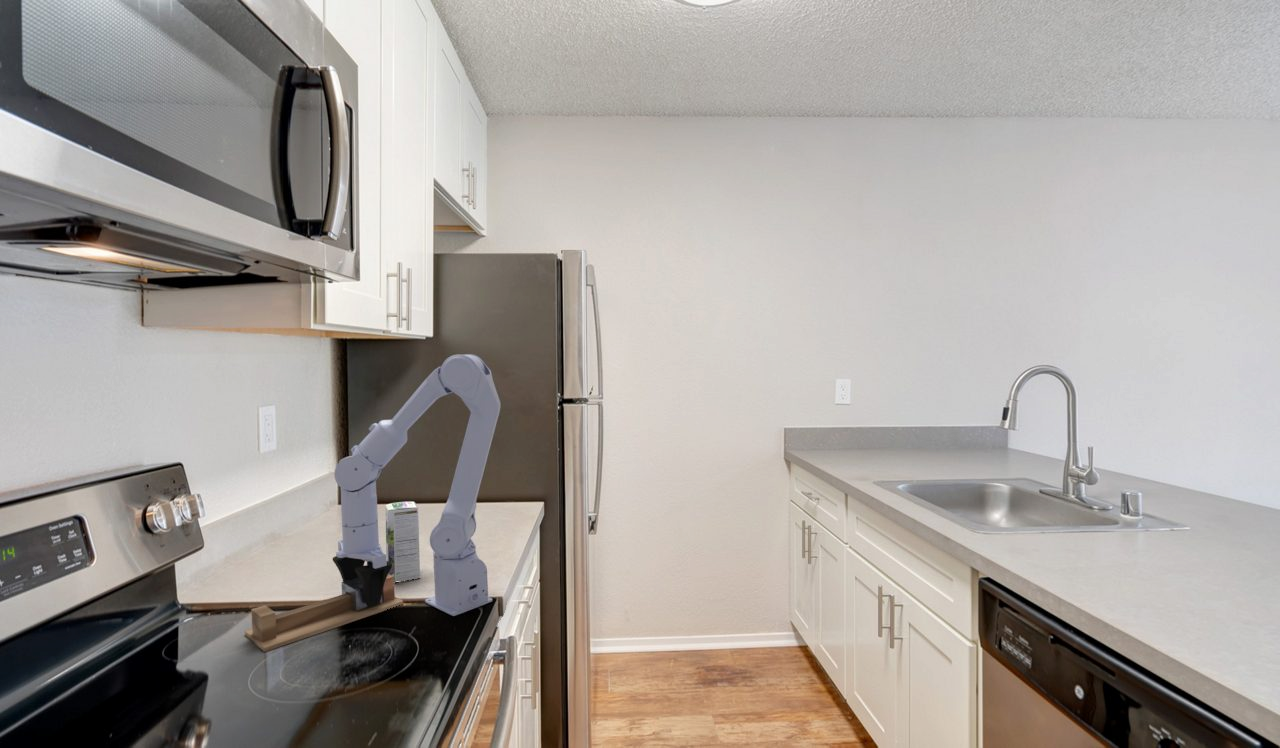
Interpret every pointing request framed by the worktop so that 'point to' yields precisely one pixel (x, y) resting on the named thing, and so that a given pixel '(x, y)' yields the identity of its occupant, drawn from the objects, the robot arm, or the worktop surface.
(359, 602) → the slider
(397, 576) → the syrup box
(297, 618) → the rail
